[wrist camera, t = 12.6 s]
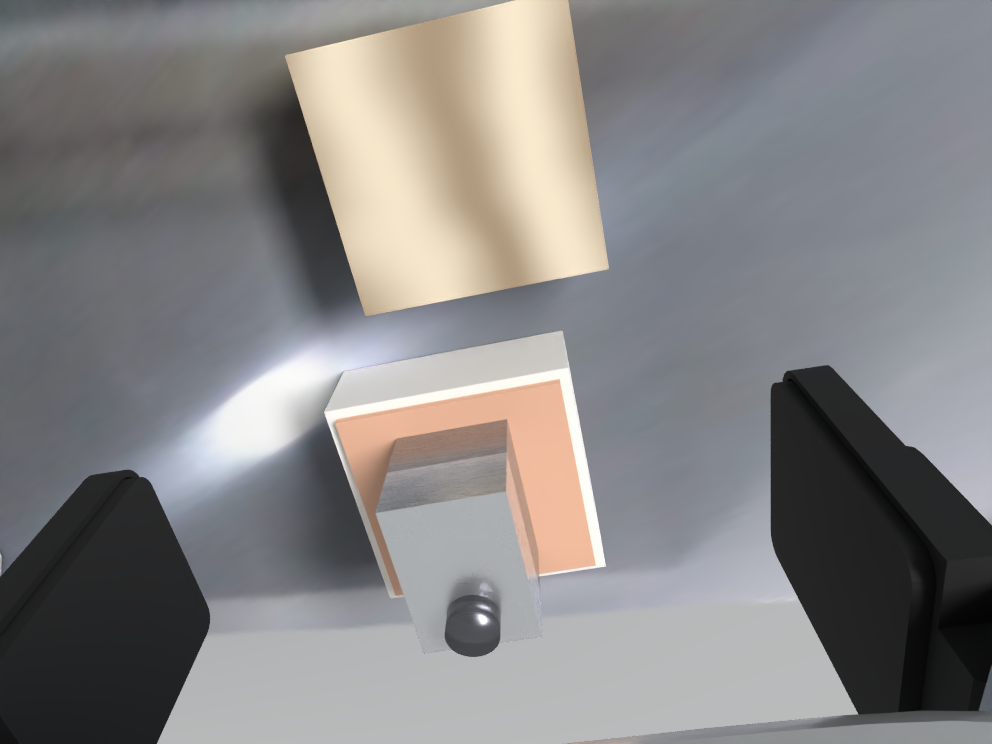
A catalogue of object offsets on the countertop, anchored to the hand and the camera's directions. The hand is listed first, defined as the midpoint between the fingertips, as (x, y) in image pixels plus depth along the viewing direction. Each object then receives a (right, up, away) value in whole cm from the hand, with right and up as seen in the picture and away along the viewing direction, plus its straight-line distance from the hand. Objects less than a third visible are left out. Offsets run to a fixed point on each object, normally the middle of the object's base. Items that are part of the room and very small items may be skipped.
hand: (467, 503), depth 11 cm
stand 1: (-1, +12, +23) cm, 27 cm away
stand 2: (-1, -2, +30) cm, 31 cm away
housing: (-1, -4, +26) cm, 26 cm away
